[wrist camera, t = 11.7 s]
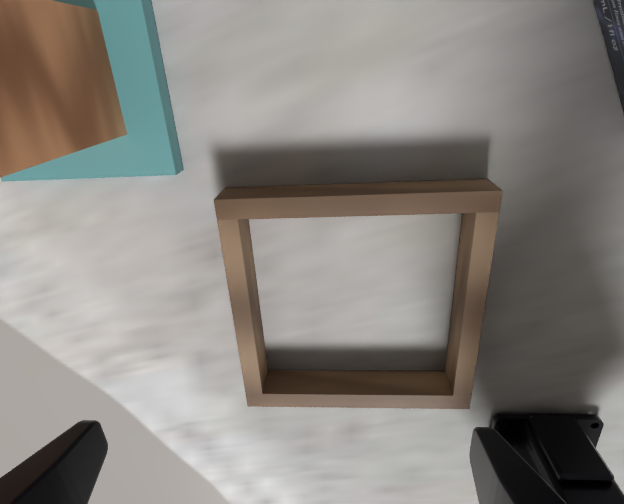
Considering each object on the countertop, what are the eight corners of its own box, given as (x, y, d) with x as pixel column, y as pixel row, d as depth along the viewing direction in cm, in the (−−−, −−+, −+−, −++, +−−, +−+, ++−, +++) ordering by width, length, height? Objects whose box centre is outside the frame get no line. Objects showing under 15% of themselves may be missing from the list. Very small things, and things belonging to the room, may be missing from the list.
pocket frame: (460, 383, 25) (469, 408, 23) (254, 382, 26) (247, 406, 24) (487, 178, 19) (502, 190, 18) (225, 187, 21) (213, 199, 19)
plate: (183, 169, 20) (176, 174, 19) (16, 176, 21) (2, 181, 20) (141, -48, 16) (130, -55, 16) (-60, -31, 17) (-83, -36, 16)
